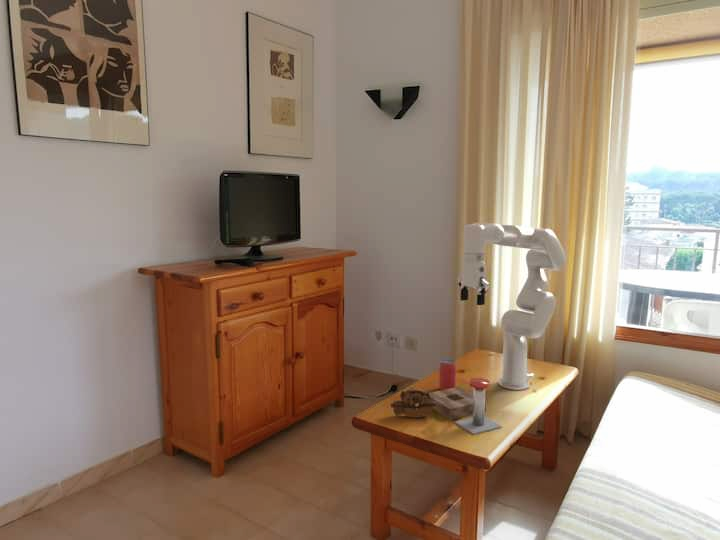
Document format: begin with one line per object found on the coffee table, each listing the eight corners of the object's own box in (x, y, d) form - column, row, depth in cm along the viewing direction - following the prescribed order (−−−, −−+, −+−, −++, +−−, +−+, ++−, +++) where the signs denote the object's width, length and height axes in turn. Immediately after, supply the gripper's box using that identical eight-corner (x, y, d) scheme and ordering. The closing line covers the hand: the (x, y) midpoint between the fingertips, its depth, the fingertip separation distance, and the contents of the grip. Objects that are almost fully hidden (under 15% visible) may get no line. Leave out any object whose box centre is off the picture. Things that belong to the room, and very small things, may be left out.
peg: (479, 418, 182) (480, 376, 180) (492, 425, 176) (494, 382, 174) (464, 421, 179) (465, 379, 177) (476, 429, 173) (478, 386, 171)
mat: (482, 416, 184) (482, 415, 184) (501, 427, 176) (501, 426, 176) (455, 423, 179) (455, 421, 179) (473, 434, 170) (473, 433, 170)
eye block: (459, 396, 203) (459, 386, 203) (485, 411, 189) (486, 401, 188) (425, 403, 196) (425, 393, 196) (450, 419, 182) (450, 409, 181)
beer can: (455, 393, 206) (455, 364, 205) (438, 392, 208) (439, 363, 206) (455, 387, 213) (456, 359, 211) (439, 386, 214) (440, 358, 212)
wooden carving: (391, 420, 182) (392, 393, 180) (390, 415, 186) (390, 388, 185) (437, 418, 183) (438, 391, 182) (435, 413, 188) (435, 387, 186)
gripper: (497, 259, 187) (495, 305, 189) (467, 254, 202) (466, 297, 204) (480, 260, 183) (479, 307, 186) (451, 255, 199) (450, 299, 201)
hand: (472, 302), depth 195 cm, fingers open, 9 cm apart
